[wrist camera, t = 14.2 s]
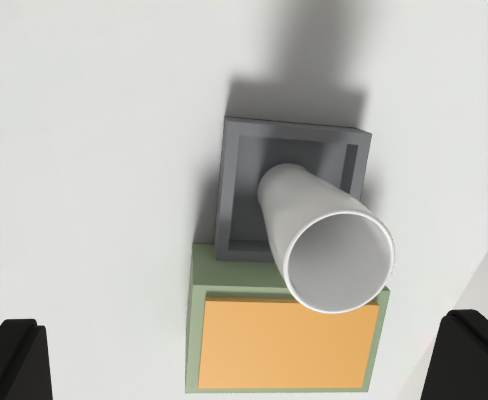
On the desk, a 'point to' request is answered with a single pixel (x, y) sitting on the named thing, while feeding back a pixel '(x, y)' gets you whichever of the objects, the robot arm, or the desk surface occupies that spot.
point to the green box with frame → (273, 276)
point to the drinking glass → (323, 240)
